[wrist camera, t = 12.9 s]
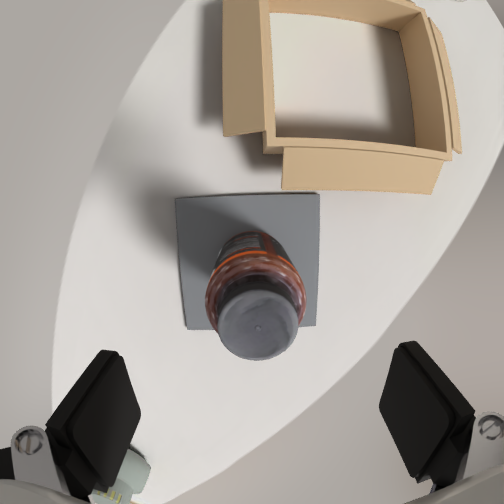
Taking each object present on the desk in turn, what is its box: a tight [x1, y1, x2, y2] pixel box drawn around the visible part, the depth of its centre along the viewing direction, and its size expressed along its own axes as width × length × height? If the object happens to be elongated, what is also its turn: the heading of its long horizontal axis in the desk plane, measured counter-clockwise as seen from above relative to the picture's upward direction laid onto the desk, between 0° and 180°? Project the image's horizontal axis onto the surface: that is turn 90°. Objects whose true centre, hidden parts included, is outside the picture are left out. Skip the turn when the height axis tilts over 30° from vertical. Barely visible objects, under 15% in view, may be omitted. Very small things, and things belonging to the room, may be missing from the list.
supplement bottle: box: [205, 231, 306, 361], centre depth 19 cm, size 6×6×11 cm
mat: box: [175, 194, 320, 330], centre depth 25 cm, size 12×12×1 cm
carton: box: [222, 0, 462, 195], centre depth 19 cm, size 21×21×5 cm
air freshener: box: [91, 449, 151, 504], centre depth 27 cm, size 11×8×10 cm
